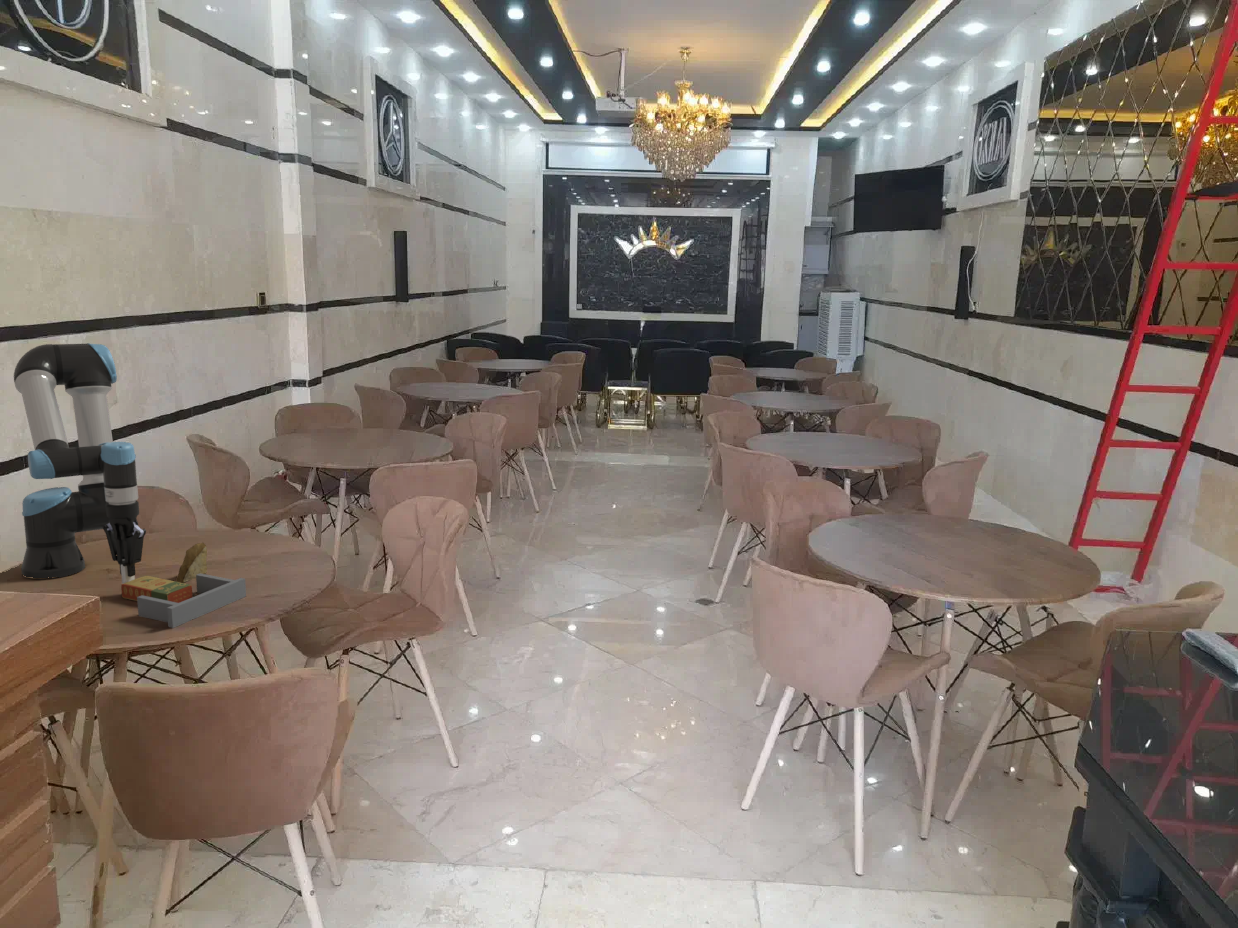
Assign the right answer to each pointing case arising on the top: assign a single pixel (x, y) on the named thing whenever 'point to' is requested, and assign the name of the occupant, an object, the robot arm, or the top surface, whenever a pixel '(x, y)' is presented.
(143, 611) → the u stop
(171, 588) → the carton
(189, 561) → the rock
